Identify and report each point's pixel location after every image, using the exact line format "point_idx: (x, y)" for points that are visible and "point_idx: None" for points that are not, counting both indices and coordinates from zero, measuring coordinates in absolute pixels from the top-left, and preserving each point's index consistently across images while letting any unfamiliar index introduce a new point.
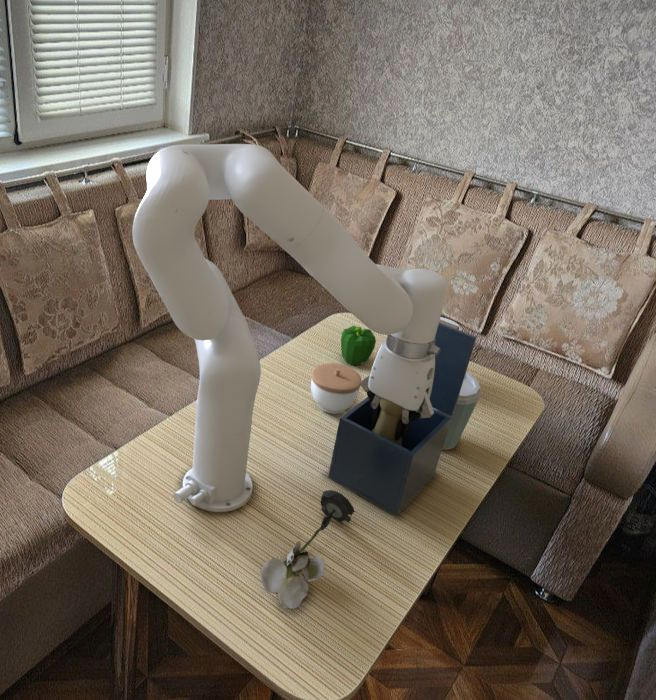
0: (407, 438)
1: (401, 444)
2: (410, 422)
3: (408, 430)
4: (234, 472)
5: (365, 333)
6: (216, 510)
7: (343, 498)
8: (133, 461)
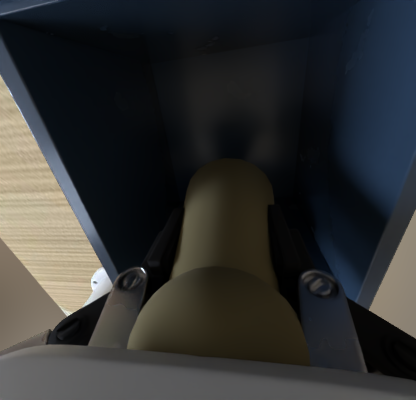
0: (229, 37)
1: (272, 194)
2: (314, 268)
3: (300, 236)
4: None
5: None
6: None
7: None
8: (66, 302)
